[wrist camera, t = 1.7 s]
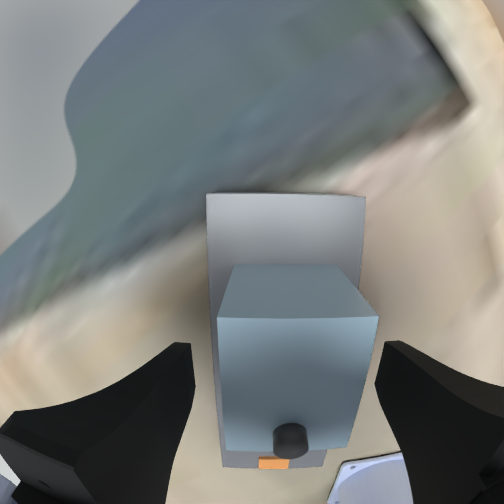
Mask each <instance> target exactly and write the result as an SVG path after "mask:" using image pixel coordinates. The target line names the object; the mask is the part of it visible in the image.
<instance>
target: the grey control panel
mask: <svg viewBox="0 0 504 504" xmlns="http://www.w3.org/2000/svg"><path fill="white" fill-rule="evenodd" d="M206 197H207V249H208V278H209V301H210V321H211V338H212V353H213V368H214V381H215V393H216V405H217V416H218V426H219V436H220V446H221V455H222V464H223V467H231V468H258V469H287V468H304V467H318V466H323V462H324V459H325V455H326V452H327V449H322V450H308V452H307V453H306V454H305V455H303V456H302V457H299V458H296V459H281V458H279V457H277V456H276V455H275V454H274V453H273V452H256V451H230V450H226V447H225V435H224V423H223V410H222V396H221V382H220V366H219V348H218V328H217V316H218V313H219V310H220V306H221V303H222V300H223V297H224V294H225V291H226V288H227V285H228V282H229V279H230V276H231V273H232V270H233V267H234V264H289V265H337V266H338V267H339V268H340V269H341V271H342V272H343V273H344V274H345V275H346V277H347V278H348V279H349V280H350V281H351V283H352V284H353V285H354V286H355V287H356V289H357V290H358V289H359V280H360V271H361V260H362V249H363V236H364V220H365V199H366V197H361V196H355V195H348V194H327V193H298V192H212V193H208V194H206Z"/></svg>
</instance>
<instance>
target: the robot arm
mask: <svg viewBox="0 0 504 504" xmlns="http://www.w3.org/2000/svg"><path fill="white" fill-rule="evenodd" d="M195 387H196V386H195V378H194V369H193V360H192V351H191V343H179V342H174V343H173V344H171V345H170V346H169V347H167V348H166V349H165V350H163V351H162V352H161V353H159V354H158V355H157V356H155V357H154V358H153V359H151V360H150V361H149V362H147V363H146V364H145V365H143V366H142V367H140V368H139V369H137V370H136V371H134V372H132V373H131V374H129V375H128V376H126V377H125V378H123V379H121V380H120V381H118V382H116V383H114V384H112V385H110V386H108V387H106V388H104V389H102V390H100V391H98V392H96V393H93V394H90V395H88V396H85V397H82V398H80V399H77V400H74V401H71V402H67V403H63V404H60V405H55V406H51V407H46V408H40V409H32V410H23V411H15V412H14V413H13V414H12V415H11V416H10V417H9V418H8V419H7V421H6V422H5V423H4V424H3V425H2V426H1V428H0V454H1V456H2V457H3V459H4V460H5V461H6V463H7V464H8V465H9V466H10V468H11V469H12V470H13V472H14V473H15V474H16V475H17V477H18V478H19V479H20V480H21V481H20V483H19V485H18V486H16V485H15V484H13V483H12V482H11V481H10V480H8V479H7V478H5V477H4V476H2V475H1V474H0V504H165V502H166V496H167V491H168V485H169V480H170V475H171V470H172V465H173V461H174V458H175V454H176V451H177V448H178V445H179V443H180V440H181V437H182V434H183V431H184V428H185V426H186V423H187V420H188V417H189V414H190V411H191V408H192V403H193V398H194V393H195ZM375 388H376V391H377V395H378V398H379V402H380V405H381V407H382V409H383V412H384V414H385V416H386V418H387V420H388V423H389V425H390V427H391V429H392V431H393V434H394V436H395V438H396V440H397V442H398V445H399V447H400V450H401V453H396V454H392V455H387V456H382V457H376V458H371V459H365V460H358V461H351V462H346V463H344V464H342V465H341V468H340V470H339V473H338V476H337V478H336V481H335V483H334V486H333V488H332V491H331V493H330V495H329V498H328V500H327V504H504V387H501V386H497V385H494V384H490V383H486V382H483V381H480V380H478V379H475V378H472V377H470V376H467V375H465V374H462V373H460V372H458V371H456V370H454V369H452V368H450V367H448V366H446V365H444V364H442V363H440V362H438V361H436V360H435V359H433V358H431V357H429V356H427V355H426V354H424V353H422V352H420V351H419V350H417V349H415V348H413V347H411V346H410V345H408V344H406V343H404V342H401V341H399V340H397V341H386V342H385V343H384V348H383V352H382V356H381V360H380V364H379V368H378V372H377V376H376V380H375Z"/></svg>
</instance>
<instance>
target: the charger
mask: <svg viewBox="0 0 504 504" xmlns="http://www.w3.org/2000/svg"><path fill="white" fill-rule="evenodd" d="M378 319H379V315H378V314H377V313H376V312H375V310H374V309H373V308H372V307H371V306H370V304H369V303H368V302H367V301H366V299H365V298H364V297H363V296H362V295H361V293H360V292H359V291H358V290H357V289H356V287H355V286H354V285H353V284H352V283H351V281H350V280H349V279H348V278H347V277H346V275H345V274H344V273H343V272H342V271H341V269H340V268H339V267H338V266H337V265H289V264H234V267H233V270H232V273H231V276H230V279H229V282H228V285H227V288H226V291H225V294H224V297H223V300H222V303H221V306H220V310H219V313H218V316H217V328H218V348H219V366H220V382H221V396H222V410H223V423H224V435H225V447H226V450H230V451H256V452H273V453H274V454H275V455H276V456H277V457H279V458H281V459H296V458H299V457H302V456H303V455H305V454H306V453H307V452H308V450H322V449H333V448H342V447H346V446H347V443H348V440H349V437H350V434H351V431H352V428H353V425H354V421H355V418H356V414H357V411H358V407H359V404H360V400H361V397H362V393H363V389H364V385H365V381H366V377H367V373H368V369H369V364H370V360H371V355H372V350H373V346H374V341H375V336H376V330H377V325H378Z"/></svg>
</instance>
